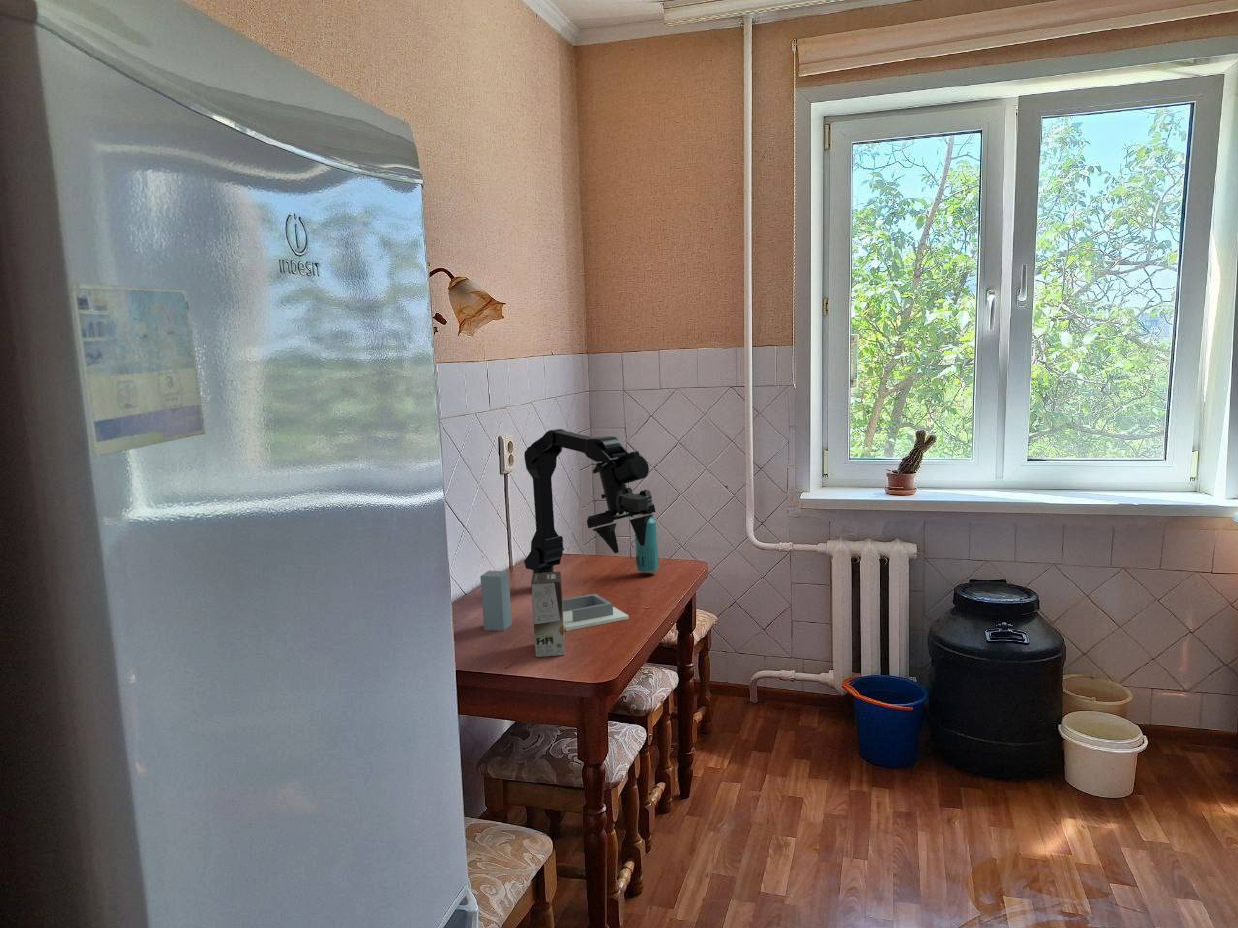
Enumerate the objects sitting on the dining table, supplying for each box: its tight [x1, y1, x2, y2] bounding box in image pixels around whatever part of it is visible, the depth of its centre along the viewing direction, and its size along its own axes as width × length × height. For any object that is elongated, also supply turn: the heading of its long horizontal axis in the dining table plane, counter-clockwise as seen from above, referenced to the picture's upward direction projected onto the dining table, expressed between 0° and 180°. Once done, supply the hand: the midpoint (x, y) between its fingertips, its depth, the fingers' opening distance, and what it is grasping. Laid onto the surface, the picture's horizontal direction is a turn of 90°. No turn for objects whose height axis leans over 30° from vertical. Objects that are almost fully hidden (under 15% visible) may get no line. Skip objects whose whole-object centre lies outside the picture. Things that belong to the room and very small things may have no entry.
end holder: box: [562, 593, 630, 632], centre depth 201 cm, size 16×16×4 cm
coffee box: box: [530, 571, 565, 658], centre depth 178 cm, size 9×6×16 cm
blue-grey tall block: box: [479, 570, 513, 632], centre depth 195 cm, size 5×5×13 cm
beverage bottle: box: [634, 513, 660, 573], centre depth 235 cm, size 6×7×20 cm
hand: (630, 549), depth 202 cm, fingers open, 9 cm apart
